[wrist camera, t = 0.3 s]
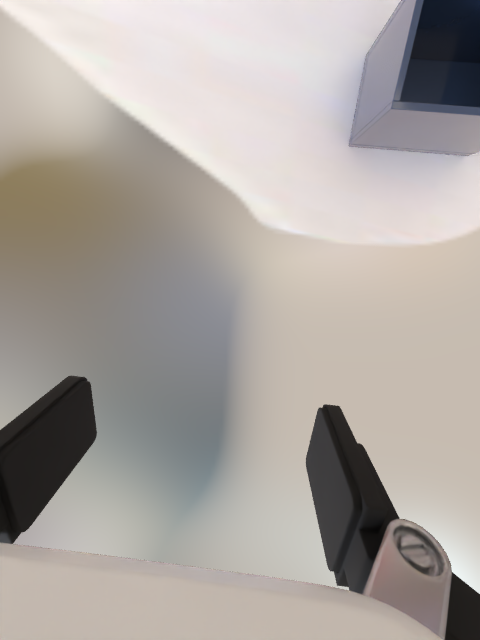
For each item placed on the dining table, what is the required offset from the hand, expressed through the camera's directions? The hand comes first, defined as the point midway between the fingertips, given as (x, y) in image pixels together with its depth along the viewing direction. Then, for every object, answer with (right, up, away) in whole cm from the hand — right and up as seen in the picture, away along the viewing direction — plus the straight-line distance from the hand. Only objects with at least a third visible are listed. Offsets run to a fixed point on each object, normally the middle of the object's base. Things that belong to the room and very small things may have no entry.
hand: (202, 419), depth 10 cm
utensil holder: (+24, +30, +21) cm, 43 cm away
